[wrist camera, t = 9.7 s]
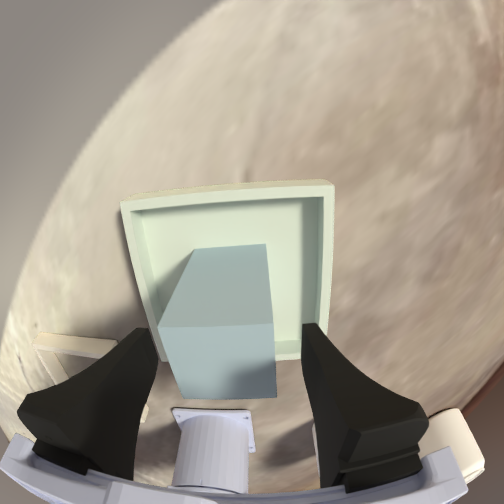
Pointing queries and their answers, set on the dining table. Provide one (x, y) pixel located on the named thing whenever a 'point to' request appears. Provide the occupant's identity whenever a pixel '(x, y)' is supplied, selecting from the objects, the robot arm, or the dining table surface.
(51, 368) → the holder
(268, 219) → the tray
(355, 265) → the dining table surface
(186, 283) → the block
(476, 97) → the dining table surface
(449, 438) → the beverage can
